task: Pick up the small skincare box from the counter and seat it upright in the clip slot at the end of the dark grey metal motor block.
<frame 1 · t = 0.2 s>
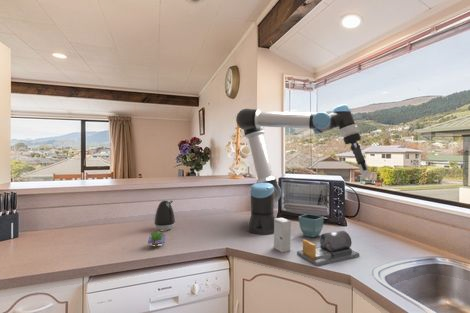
hand: (366, 175, 119), 28 cm above the worktop, tool tilted 20°, fingers open, 13 cm apart
motor: (328, 255, 93), on the worktop
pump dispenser: (165, 230, 128), on the worktop
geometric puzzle: (156, 247, 103), on the worktop
skincare box: (282, 249, 100), on the worktop
flower pot: (311, 235, 116), on the worktop
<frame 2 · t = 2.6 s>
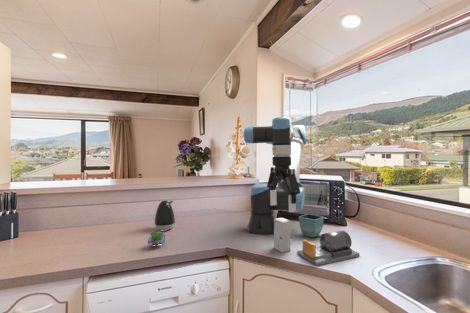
hand: (282, 208, 100), 17 cm above the worktop, tool pointing down, fingers open, 13 cm apart
nothing on the worktop moved.
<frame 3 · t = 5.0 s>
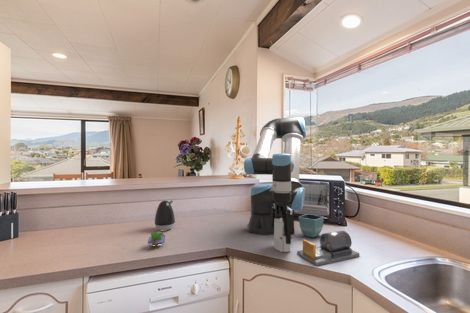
hand: (282, 248, 100), 0 cm above the worktop, tool pointing down, fingers closed on skincare box, 6 cm apart
skincare box: (282, 249, 100), on the worktop, touching gripper
everything else where it was.
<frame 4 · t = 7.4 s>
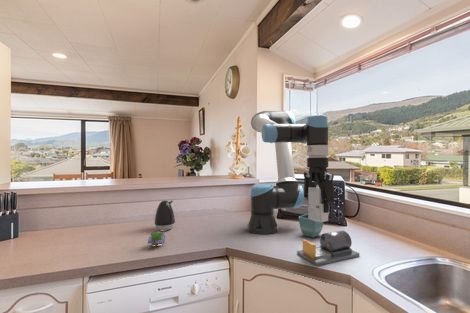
hand: (318, 218, 91), 14 cm above the worktop, tool pointing down, fingers closed on skincare box, 6 cm apart
skincare box: (318, 220, 91), point 14 cm above the worktop, touching gripper
everything else where it was.
when the fingers open (3 cm above the worktop, at t = 10.0 s): skincare box stays where it is, resting on motor.
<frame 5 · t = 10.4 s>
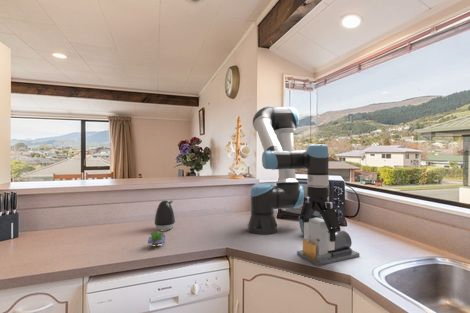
hand: (318, 244, 91), 5 cm above the worktop, tool pointing down, fingers open, 12 cm apart
skincare box: (318, 252, 91), point 2 cm above the worktop, touching motor
everything else where it was.
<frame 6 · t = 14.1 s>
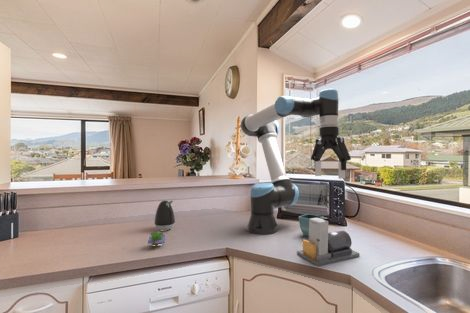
hand: (329, 177, 104), 29 cm above the worktop, tool pointing down, fingers open, 13 cm apart
nothing on the worktop moved.
at the end: skincare box inside the target area on the motor (0.2 cm from its centre), point 1.8 cm above the motor's base; skincare box tilted 0°; the gripper is holding nothing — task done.
